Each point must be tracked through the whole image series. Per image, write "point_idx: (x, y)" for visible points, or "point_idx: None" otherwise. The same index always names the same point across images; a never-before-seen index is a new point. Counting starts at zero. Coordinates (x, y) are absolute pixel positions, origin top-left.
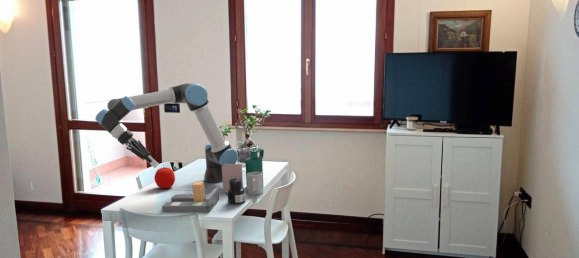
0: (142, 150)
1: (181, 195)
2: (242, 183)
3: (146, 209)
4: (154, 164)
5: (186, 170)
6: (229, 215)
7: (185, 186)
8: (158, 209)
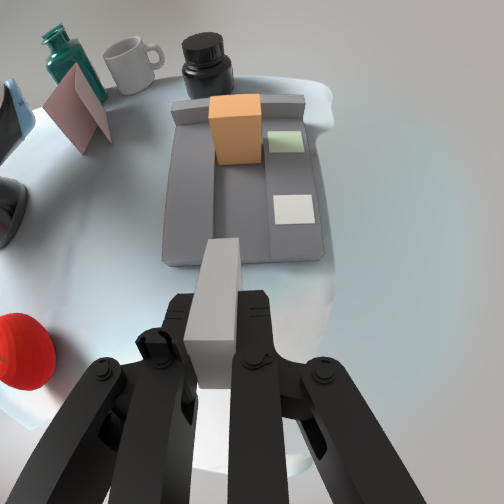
0: (170, 486)
1: (178, 229)
2: (98, 100)
3: (292, 337)
4: (240, 274)
5: None
6: (315, 85)
7: (35, 286)
8: (289, 288)
